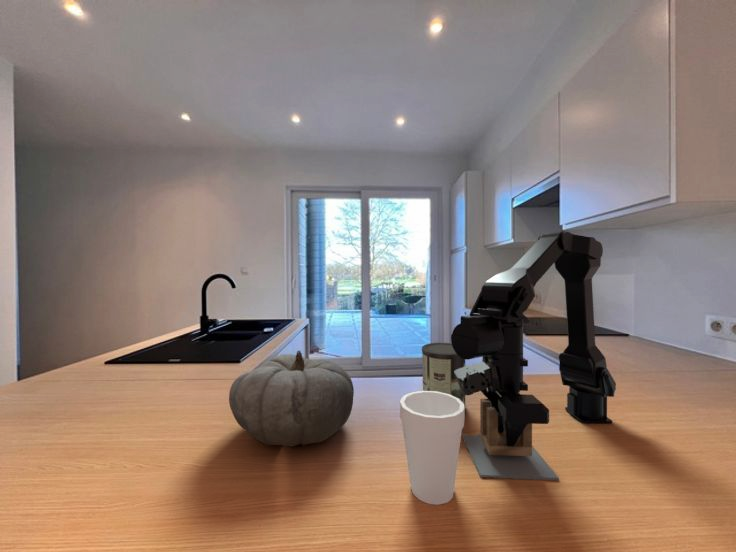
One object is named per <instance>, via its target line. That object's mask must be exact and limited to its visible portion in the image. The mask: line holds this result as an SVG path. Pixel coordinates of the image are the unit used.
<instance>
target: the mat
mask: <svg viewBox="0 0 736 552" xmlns="http://www.w3.org/2000/svg"><path fill="white" fill-rule="evenodd" d="M461 438H462V440H463V442H464V444H465V446H466V448H467V451H468V453H469V455H470V457H472V458H471V460H472V459H473V460H472V462H473V463H474V466H476V467H475V469H476V468H477V469H476V471H477V472H478V475H479V478H483V477H493V478H492V479H509V478H512V479H513V478H514V479H515V480H536V479H537V481H538V480H540V481H542V480H544V481H560V477H559V476H558V474H557V473H556V472H555V471H554V469H552V467H551V466H550V465H549V464H548V462H547V461H545V459H544V457H542V456H541V454H540V453H539V452H538V451H537V450H536V449H535V446H533V445H532V456H509V455H489V453H488V451H487V450H486V448H485V446H484V444H483V442H482V441H481V439H480V434H461ZM494 477H495V478H494ZM496 477H497V478H496Z"/></svg>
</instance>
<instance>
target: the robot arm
mask: <svg viewBox="0 0 736 552" xmlns="http://www.w3.org/2000/svg"><path fill="white" fill-rule="evenodd" d="M528 249H529V248H528ZM603 251H604V248H603V245H602V243H601V242H600V241H598V240H596V238H595V237H593V236H586V235H585V236H584V235H579V234H573V233H572V232H569V231H565V230H559V231H551V232H544V233H542V234H540V235H539V236H538V239H537V240H536V242H535V243H534V244H533V245H532V246H531V247H530V249H529V250H528V251H526V253H524V255H523V256H522V257H520V258H519V260H518V261H517V262H516V263H515V264H514V265H513V266H512V267H510V269H508V270H504V271H501V272H499V273H497V274H495V275H494V276H492V277H490V278H489V279H487V280H485V281H484V283H483V285H482V287H481V288H480V289H481V290H480V292H479V294H478V296H477V298H476V300H475V302H474V304H473V307H472V308H471V309H470V312H469V315H461V316H460V323H458V324H456V325H455V327H454V328H453V330H452V332H451V333H452V334H451V335H450V342H451V344H452V346H453V349H454V351H455V352H456V354H457V355H458V356H459V357H461V358H463V359H465V360H467V361H468V360H474V359H478V358H482V360H481V361H479V362H476V363H475V362H474V363H472V364H468V365H465V367H462V368H459V369H457V370H455V371H454V373H455V376H456V379H457V381H458V384H459V387H460V389H461V390H462V392H463V394H464V395H465V396H472V395H473V394H475V393H478V392H481V393H482V394H483V396H484V397H485V398H486V399H489V401H490V402H491V407H494V409H495V410H496V411H497V413H498V432H504V434H505V439H506V444H507V446H514V445H515V443H516V442H517V440H518V438H519V437H520V435H521V433H522V432H523V430H524V429H525V427H526V426H527V424H532V425H535V424H536V425H548V424H549V423H550V409H549V408H548V407H547V406H546V405H545V404H544V403H542V402H541V401H540V400H539V399H538V398H537V397H536V396H535V395H534V394H523V393H522V394H521V391H522V392H523V391H524V392H528V391H529V385H528V384H527V383H526V382H525V381H524V367H529V365H528V364H529V360H528V359H526V358H525V357H524V325H529V324H530V323H531V320H530V319H529V318H528V317H527V316H526V315H525V314H524V313H525V312H526V311H527V310H528V309H529V307H530V305H531V303H532V302H533V301H534V298H535V297H536V291H535V286H536V285H537V283H538V282H539V281H540V280H541V278H543V276H544V275H545V274H546V273H547V272H548V270H550V268H551V267H552V265H554V268H555V270H556V271H557V273H558V274H559V275H560V276H561V277H562V279H563V280H564V281H563V282H564V290H565V291H564V293H565V309H566V311H565V312H566V324H567V325H566V326H567V341H568V342H567V343H568V344H567V346H566V348H565V349H564V350H563V352H560V353H559V356H558V361H559V366H558V367H559V369H558V371H559V374H560V379H561V384H562V385H563V386H567V387H569V390H568V391H569V392H567V393H566V394H567V395H566V396H567V397H566V402H567V403H566V407H564V410H565V411H566V412H568V413H569V414H570V415H571V416H573V418H575V419H577V420H578V421H579V422H581V423H590V424H591V423H593V424H613V420H612V419H611V418H609V417H608V397H611V398H613V397H615V393H616V392H615V391H616V390H617V389H616V386H617V383H616V381H615V379H614V378H613V375H612V374H611V372H610V371H609V369H608V368H607V361H606V357H605V356H604V354H603V353H602V351H601V350H600V349H599V347H597V345H596V334H595V333H596V332H595V315H594V314H595V311H594V297H593V296H594V294H593V278H594V276H595V275H596V273H597V272H598V270H599V268H601V263H602V260H601V259H602V256H603Z"/></svg>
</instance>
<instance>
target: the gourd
mask: <svg viewBox="0 0 736 552" xmlns="http://www.w3.org/2000/svg"><path fill="white" fill-rule="evenodd" d="M351 378H352V377H350V374H348V372H346V371H345V369H344V368H342V366H340V365H339V364H336V363H334V362H333V361H331V360H326V359H315V360H313V359H310V358H307V357H305V356H303V354H302V352H301V350H297V351H296V354H293V353H285V354H279V355H277V356H274V357H272V358H271V359H269V361H266V362H264V363H263V364H261V365H260V366H258V367H257V368H254V369H252V370H248V371H246V372H244V373H241V375H239V376H238V377H237V378H235V379H234V381H233V382H232V384H231V386H230V389H229V394H228V402H229V407H230V410H231V413H232V415H233V417H234V419H235V421H236V423H237V424H238V425H239V426H240V428H242V429H243V430H245V432H247V433H248V434H249V435H250V436H251V437H252V438H253V439H256V440H257V441H259V442H260V443H263V444H265V445H267V446H276V445H277V446H285V447H294V446H298V445H301V446H302V445H303V446H304V445H309V444H317V443H318V444H319V443H322V442H324V441H325V440H327V439H328V438H330V437H331V436H332V435H334V434H335V433H337V432H339V431H340V430H341V429H342V428H343V427H344V426H345V424H346V423H347V422H348V420H349V418H350V416H351V413H352V410H353V405H354V404H353V403H354V394H355V393H354V392H355V391H354V390H355V389H354V384H353V380H352V379H351Z"/></svg>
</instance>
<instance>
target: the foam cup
mask: <svg viewBox="0 0 736 552" xmlns="http://www.w3.org/2000/svg"><path fill="white" fill-rule="evenodd" d="M399 418H400V420H401V424H402V432H403V440H404V445H405V446H404V447H405V455H406V461H407V468H408V469H407V470H408V475H409V476H408V477H409V484H410V488H411V492H412V494H413V495H414V497H416V499H418V500H419V501H421V502H423V503H426V504H428V505H437V506H439V505H443V504H447V503H449V502H450V501H451V500H452V498H454V491H455V485H456V477H457V469H458V461H459V453H460V448H461V447H460V446H461V438H462V431H463V428H465V427H464V426H465V411H464V404H463V403H462V401H461V400H460V399H458V398H456V397H454V396H452V395H450V394H446V393H442V392H437V391H423V390H419V391H413V392H409V393H407V394H405V395H403V396H402V397H401V399H400V401H399Z"/></svg>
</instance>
